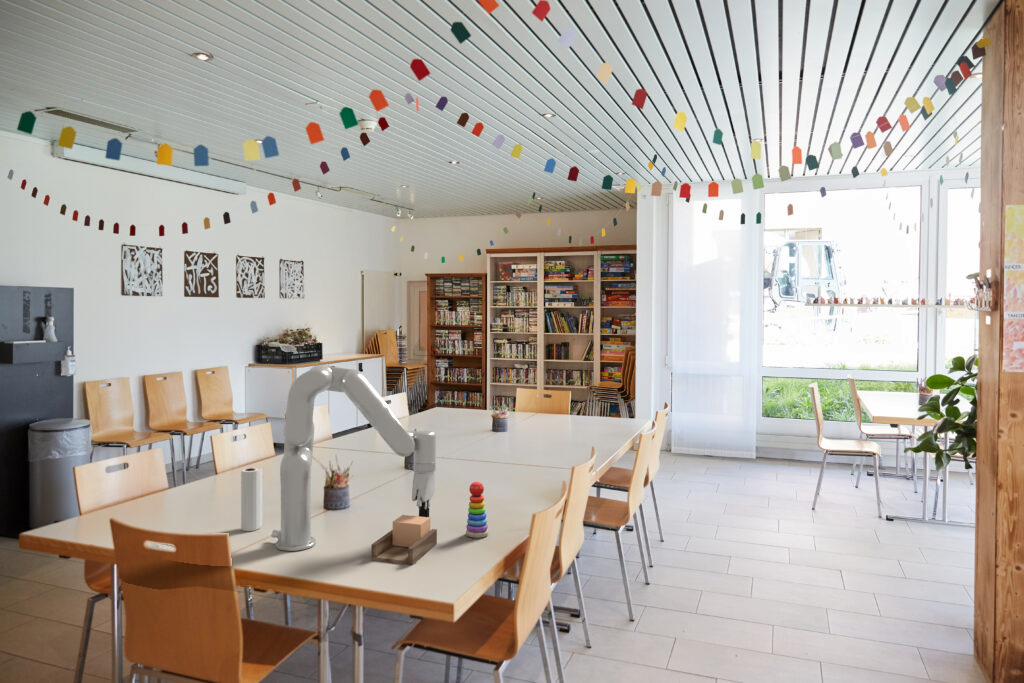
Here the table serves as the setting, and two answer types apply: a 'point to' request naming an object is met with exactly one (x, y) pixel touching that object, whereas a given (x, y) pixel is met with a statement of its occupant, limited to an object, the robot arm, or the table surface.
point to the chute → (402, 549)
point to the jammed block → (409, 530)
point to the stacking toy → (476, 513)
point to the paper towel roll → (252, 499)
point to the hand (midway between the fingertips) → (423, 519)
